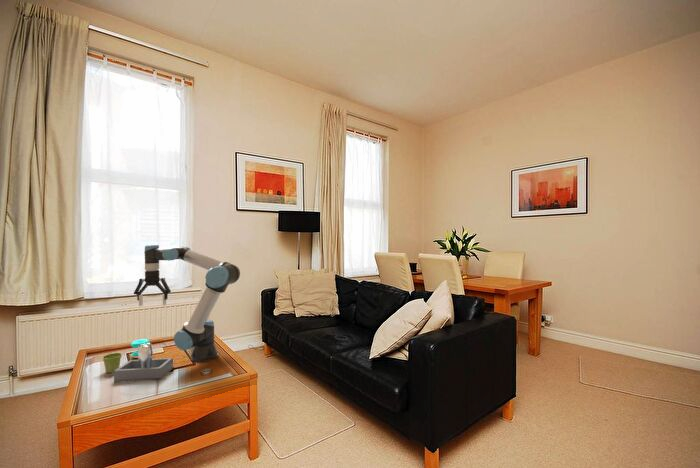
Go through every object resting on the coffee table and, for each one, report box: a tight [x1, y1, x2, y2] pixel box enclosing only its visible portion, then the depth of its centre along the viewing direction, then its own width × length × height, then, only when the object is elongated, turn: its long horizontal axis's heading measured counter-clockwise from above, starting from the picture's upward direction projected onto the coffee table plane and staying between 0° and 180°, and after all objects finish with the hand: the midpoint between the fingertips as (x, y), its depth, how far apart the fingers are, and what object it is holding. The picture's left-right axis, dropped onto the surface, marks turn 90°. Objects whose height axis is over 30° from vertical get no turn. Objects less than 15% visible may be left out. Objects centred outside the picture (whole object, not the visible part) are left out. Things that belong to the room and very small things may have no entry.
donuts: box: [130, 338, 151, 357], centre depth 211 cm, size 10×10×10 cm
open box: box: [113, 357, 174, 383], centre depth 181 cm, size 23×15×6 cm, turn 96°
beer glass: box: [137, 343, 154, 368], centre depth 181 cm, size 7×7×15 cm
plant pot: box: [101, 352, 123, 374], centre depth 188 cm, size 9×9×9 cm
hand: (152, 305), depth 199 cm, fingers open, 13 cm apart
